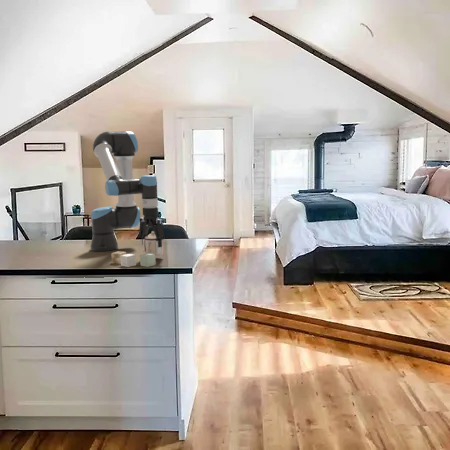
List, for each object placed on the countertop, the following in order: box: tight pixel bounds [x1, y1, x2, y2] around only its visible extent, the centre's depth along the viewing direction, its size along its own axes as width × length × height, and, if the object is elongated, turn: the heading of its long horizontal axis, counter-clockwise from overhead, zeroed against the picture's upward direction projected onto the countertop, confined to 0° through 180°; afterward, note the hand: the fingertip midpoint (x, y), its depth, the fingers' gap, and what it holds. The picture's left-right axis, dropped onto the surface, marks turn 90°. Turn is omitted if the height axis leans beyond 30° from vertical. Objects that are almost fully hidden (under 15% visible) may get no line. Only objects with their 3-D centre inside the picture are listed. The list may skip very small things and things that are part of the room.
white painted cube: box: [120, 253, 137, 268], centre depth 244 cm, size 5×5×5 cm
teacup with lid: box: [144, 230, 164, 257], centre depth 254 cm, size 12×9×12 cm
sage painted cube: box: [139, 253, 157, 268], centre depth 243 cm, size 5×5×5 cm
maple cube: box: [110, 251, 127, 265], centre depth 251 cm, size 5×5×5 cm
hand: (152, 252), depth 255 cm, fingers closed on teacup with lid, 8 cm apart
